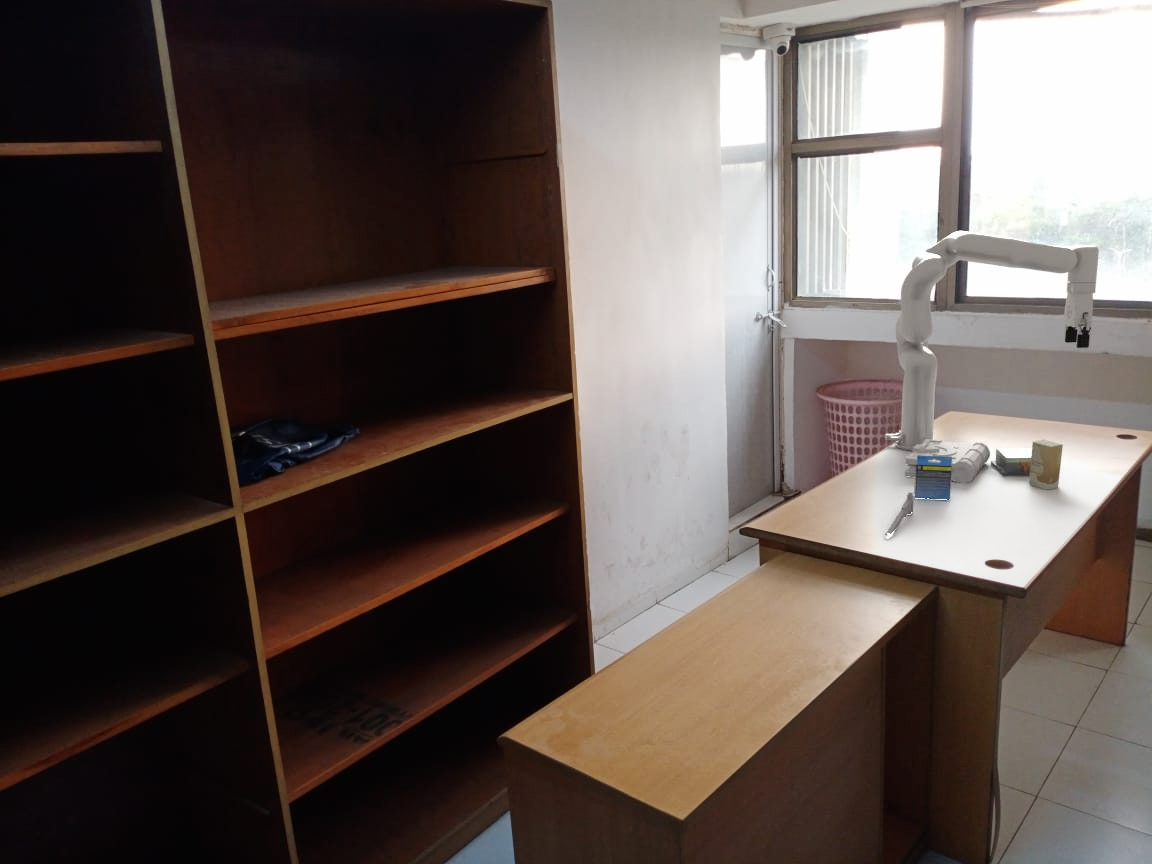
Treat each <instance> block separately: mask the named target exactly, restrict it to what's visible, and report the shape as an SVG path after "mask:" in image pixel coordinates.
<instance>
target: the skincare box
mask: <svg viewBox="0 0 1152 864" xmlns="http://www.w3.org/2000/svg"><path fill="white" fill-rule="evenodd" d="M1031 446H1032V447H1031V448H1032V455H1031V465H1030V475H1029V476H1028V485H1031V486H1034V487H1037V488H1040V489H1044V490H1046V491H1047V490H1053V489H1058V488H1059V484H1060V483H1059V482H1060V473H1061V465H1062V464H1061V462H1062V455H1063V454H1062V453H1063V447H1064V446H1063V444H1062V443H1058V442H1055V441H1050V440H1046V439H1044V438H1043V439H1040V440H1034V441H1032V445H1031Z"/></svg>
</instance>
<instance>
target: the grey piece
mask: <svg viewBox="0 0 1152 864" xmlns="http://www.w3.org/2000/svg"><path fill="white" fill-rule="evenodd" d="M1031 455H1032V447H1024V448H1023V447H1021V448H1020V447H1017V448H1013V447H1012V448H1011V447H1010V448H1009V447H1007V448H1003V447H1001V448H996V450H995V460H991V461H990V465H991V466H992V467H993V468H994V469H995V470H996V471H997V472H998V473H999V474H1000V476H1002V477H1029V475H1030V465H1031Z"/></svg>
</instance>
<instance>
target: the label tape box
mask: <svg viewBox="0 0 1152 864" xmlns="http://www.w3.org/2000/svg"><path fill="white" fill-rule="evenodd" d="M933 459H935V460H937V461H940V463H931V462H928V460H933ZM951 464H952V457H945V456H924V455H917V464H916V466H915V478H914V491H913V494H915V496H914V499H915V498H925V499H927V498H929V499H947V500H949V499H950V500H951V489H952V488H951V487H952V481H951V474H952V466H951Z"/></svg>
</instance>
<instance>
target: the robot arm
mask: <svg viewBox="0 0 1152 864" xmlns="http://www.w3.org/2000/svg"><path fill="white" fill-rule="evenodd" d="M1099 252H1100V250H1099V247H1098V246H1096V245H1090V244H1089V245H1088V244H1087V245H1086V244H1083V245H1081V244H1080V245H1075V246H1063V245H1050V244H1043V243H1035V242H1032V241H1026V240H1023V239H1018V238H1015V237H1010V236H1009V237H1008V236H1001V235H993V234H985V233H979V232H971V231H964V230H958V231H957V230H956V231H955V232H952V233H951V234H949V235H948V236H946V237H944V238H942V239H941V240H940V241H938V242H937V243H935V244H933V245H932V246H930V247H928V248H927V249H925V250H924V251H922V252H920V253H919V254H917V256H916V257H915V258H914V259H913V261H912V264H911V270H910V271H909V272H908V274H907V275H906V277H905V278H904V281H903V283H902V285H901V291H900V310H901V314H900V315H899V316H898V318H897V319H896V323H895V336H896V349H897V358H898V359H897V360H898V363H899V365H900V367H901V368H902V369H903V372H904V373H903V381H902V390H901V392H902V394H901V396H902V397H901V399H902V400H901V424H900V425H901V428H900V430H898V432H895V433H885V435H884V436H885V437H884V438H885V440H886V441H889V440H890V441H891V442H895V446H896V447H897V448H899V449H901V450H906V451H911V452H912V451H913V447H914V446H916V445H917V444H918V445H921V444H922V443H923V442H924V440H926V439H933V440H934V421H935V420H934V418H935V401H936V399H935V397H936V396H935V395H936V383H937V377H938V367H939V366H938V365H939V364H938V359H937V357H936V355H935V353H934V352H933V351H931V350H930V349H929V339H930V338H931V336H932V334H933V331H934V329H933V327H934V326H933V321H932V320H933V319H932V308H931V307H932V305H931V294H932V290H933V288H934V287H935V285H936V284H937V283H938V282H940V281H941V280H942V279H943V278H944V277H945V276H946V274H947V271H948V268H950V267H952V266H953V265H954V264H956V263H957V262H959V261H963V262H969V263H970V262H971V263H975V264H976V263H977V264H978V263H979V264H986V265H991V266H997V267H1006V268H1011V269H1012V268H1014V269H1027V270H1032V271H1041V272H1047V273H1053V274H1066V273H1067V283H1066V293H1067V295H1066V300H1065V306H1064V312H1063V324H1064V325H1065V333H1064V334H1065V335H1064V343H1066V344H1067V343H1068V344H1070V343H1076V348H1077V349H1087V348H1089V347H1090V340H1091V339H1090V337H1091V329H1092V324H1093V311H1094V310H1093V309H1094V299H1093V298H1094V297H1093V296H1094V294H1095V293H1096V289H1097V279H1098V277H1097V276H1098V275H1097V274H1098V265H1099V264H1098V263H1099V255H1100V254H1099ZM896 444H897V445H896Z"/></svg>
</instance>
